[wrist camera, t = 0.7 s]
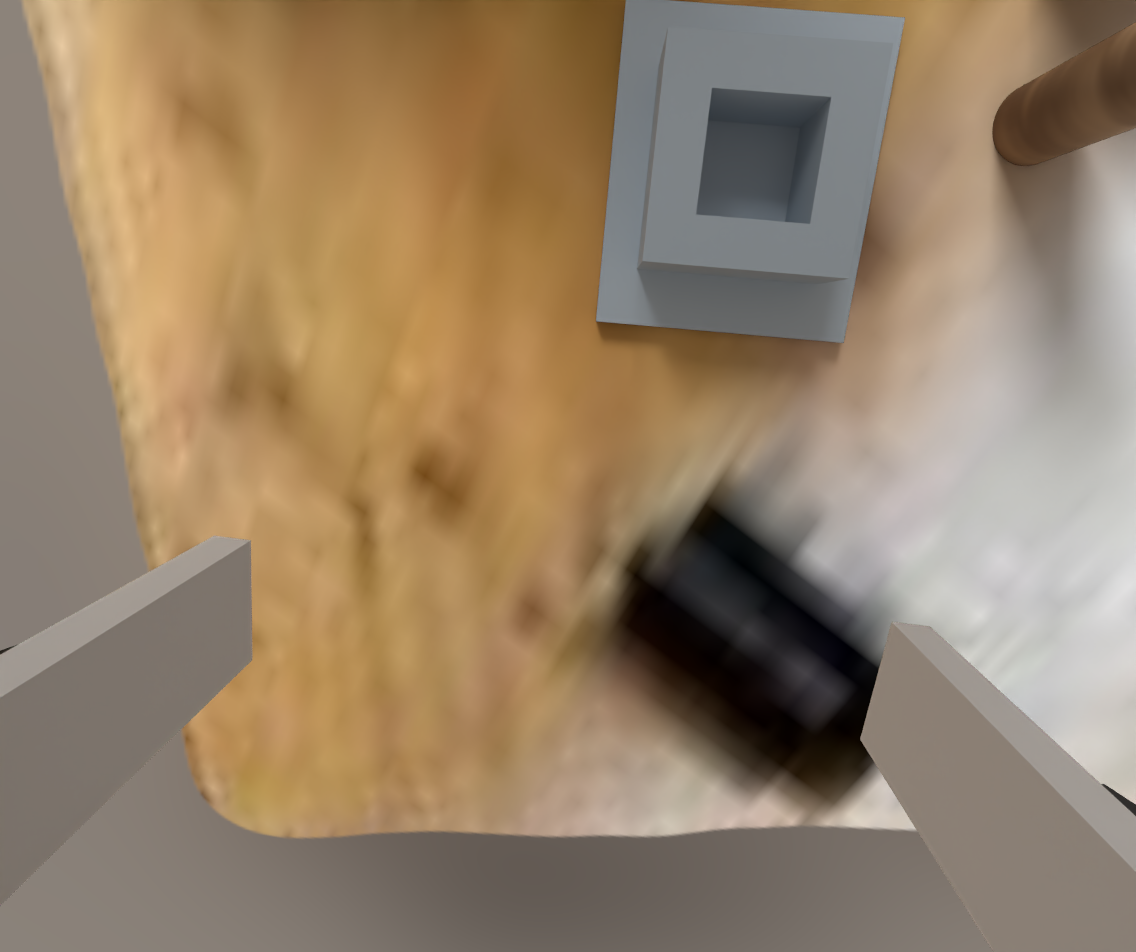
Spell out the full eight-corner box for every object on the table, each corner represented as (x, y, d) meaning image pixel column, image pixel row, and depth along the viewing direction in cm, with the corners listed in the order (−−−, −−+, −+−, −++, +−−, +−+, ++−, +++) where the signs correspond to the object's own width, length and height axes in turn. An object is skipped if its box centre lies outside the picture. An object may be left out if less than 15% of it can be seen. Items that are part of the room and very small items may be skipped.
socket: (625, 7, 32) (630, -56, 27) (895, 27, 32) (955, -33, 27) (596, 321, 36) (595, 320, 31) (836, 342, 36) (878, 345, 30)
